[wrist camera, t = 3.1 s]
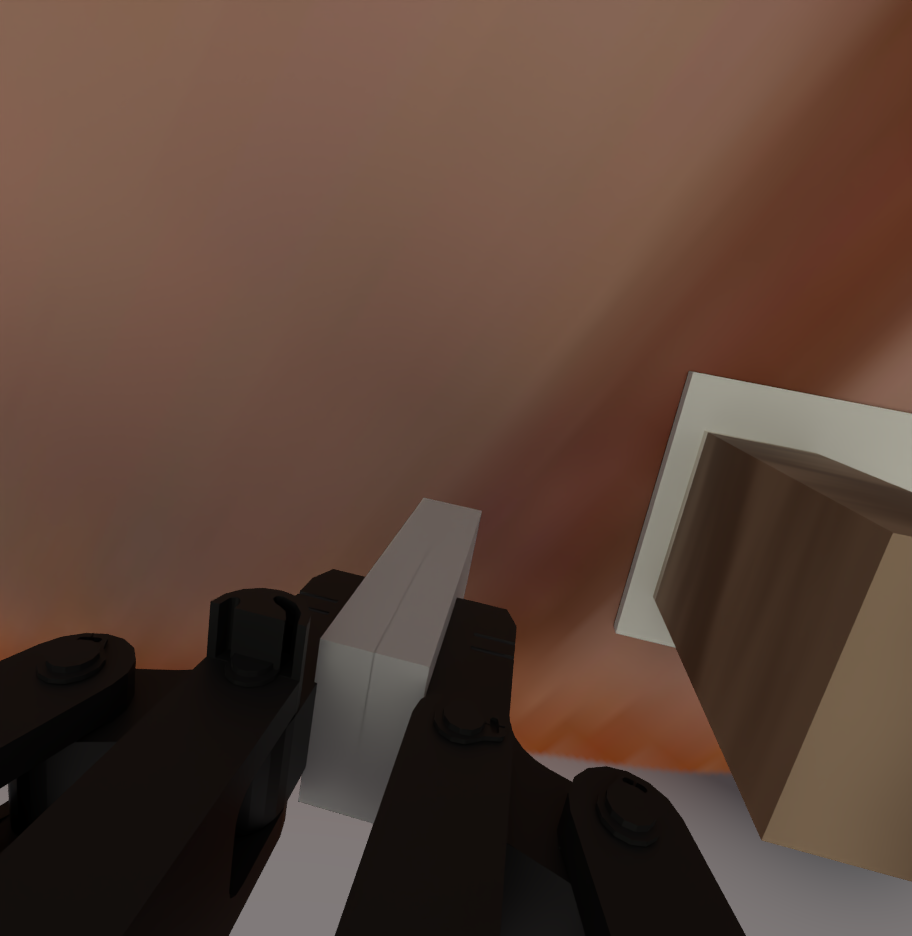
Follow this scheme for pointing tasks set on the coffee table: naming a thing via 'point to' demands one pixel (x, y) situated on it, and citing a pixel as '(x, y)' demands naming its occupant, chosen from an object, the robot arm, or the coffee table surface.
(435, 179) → the coffee table surface
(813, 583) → the block
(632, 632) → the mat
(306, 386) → the coffee table surface
